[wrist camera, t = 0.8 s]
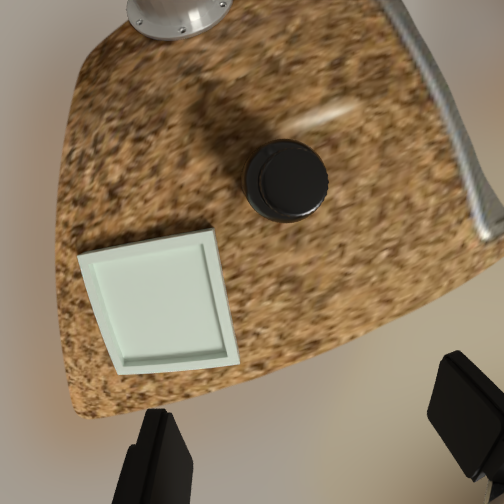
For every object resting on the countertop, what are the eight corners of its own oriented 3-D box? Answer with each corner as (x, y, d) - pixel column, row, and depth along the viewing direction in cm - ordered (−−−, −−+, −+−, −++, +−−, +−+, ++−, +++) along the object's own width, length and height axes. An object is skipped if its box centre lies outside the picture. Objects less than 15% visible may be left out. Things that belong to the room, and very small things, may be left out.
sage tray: (84, 252, 33) (77, 255, 31) (214, 227, 33) (212, 230, 31) (122, 367, 36) (118, 374, 35) (239, 355, 36) (239, 363, 35)
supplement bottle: (230, 197, 32) (226, 209, 20) (255, 137, 31) (265, 115, 19) (291, 221, 33) (319, 246, 21) (315, 163, 31) (357, 156, 20)
